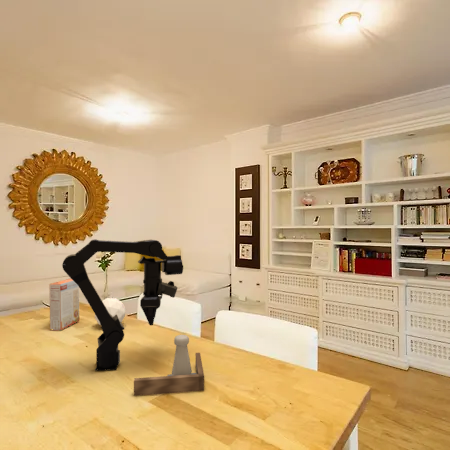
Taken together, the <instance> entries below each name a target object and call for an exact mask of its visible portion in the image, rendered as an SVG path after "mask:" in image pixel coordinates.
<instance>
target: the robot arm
mask: <svg viewBox="0 0 450 450" xmlns="http://www.w3.org/2000/svg"><path fill="white" fill-rule="evenodd" d="M99 252H100V253H125V254H127V253H128V254H137V255H142V256H141V258H140V259H139V260H138V261H137V263H138V264H141V265H142V264H143V280H142V281H143V293H142V295H143V296H142V297H141V299H140V304H139V305H140V308H141V309H142V311H143V313H144V316H145V317H146V320H147V322H148V324H149V326H153V325H154V322H155V318H156V314H157V310H158V309H159V308H160V307H161V303H162V301H161V300H162V299H163V295H166V296H169V297H170V298H175V297H176V294H177V291H178V286H177V285H175V282H174V281H172V280H169V281H168V282H163V278H162V273H164V274H165V276H174V275H182V274H183V272H184V264H183V260H182V255H169V256H168V255H167V254H166V253H165V251H164V250H163V245H162V243H161V242H160V241H159V240H155V239H146V240H145V239H144V240H143V239H142V240H137V241H124V240H123V241H121V240H104V239H103V240H99V239H91V240H89V242H88V243H87V244H86V245H85V246H83V247H82V248H81V249H80V250H78V251H77V252H76V253H75V254H69V255H67V256H66V257H65V258H64V259H63V262H62V264H61V266H62V270H63V271H64V273H66V275H67V276H68V277H69V279H72V280H73V281H74V282H75V283H76V284H77V285H78V286H79V291H81V292H82V295H83V297H84V298H85V300H86V302H87V303H88V304H89V307H90V308H91V309H92V310H91V311H92V312H93V313H94V316H95V315H96V316H97V318H98V320H99V321H100V324H101V325H100V327H101V330H102V333H101V334H100V335H99V336H98V337H97V344H98V347H97V348H96V352H95V353H96V356H95V357H96V360H95V361H96V365H95V366H96V367H95V368H94V371H95V372H99V371H114V370H117V368H118V366H119V365H120V363H121V350H120V349H119V344H121V342H123V340H124V338H125V332H124V331H125V327H124V325H123V323H122V322H120V321H119V319H118V316H117V315H115V316H114V317H113V316H112V315H111V314H110V313H109V312H108V310H107V308H106V307H105V305H104V303H103V302H102V301H103V299H102V298H101V296H100V294H99V293H98V292H97V289H96V288H95V286H94V285H93V283H92V281H91V279H90V277H89V275H88V272H87V270H86V265H85V263H87V262H88V261H89V260H90V259H91V258H92V257H93V256H94V255H95V254H96V253H99ZM146 257H148V258H146ZM155 257H156V258H157V259H159V260H156V259H155Z"/></svg>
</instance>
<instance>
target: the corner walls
mask: <svg viewBox="0 0 450 450" xmlns="http://www.w3.org/2000/svg"><path fill="white" fill-rule="evenodd" d="M195 373H196V374H191V375H176V376H167V375H166V376H165V375H163V376H162V375H161V376H149V377H136V378H134V379H133V396H134V397H135V396H136V397H137V396H149V395H150V396H151V395H162V394H163V395H164V394H173V393H174V394H176V393H188V392H189V393H190V392H201V391H202V392H203V391H205V373H204V367H203V360H202V356H201V352H195Z"/></svg>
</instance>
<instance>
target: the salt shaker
mask: <svg viewBox="0 0 450 450" xmlns="http://www.w3.org/2000/svg"><path fill="white" fill-rule="evenodd" d="M189 342H190V338H189V336H188V335H186V334H178V335H176V336H175V337H174V340H173V343H174V345H175V354H174V359H173V365H172V370H171V374H172V376H176V375H191V373H193V371H192V365H191V359H190V354H189V353H190V352H189V348H188V344H189Z"/></svg>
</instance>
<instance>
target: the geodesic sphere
mask: <svg viewBox="0 0 450 450" xmlns="http://www.w3.org/2000/svg"><path fill="white" fill-rule="evenodd" d="M102 302H103V303H104V305H105V307H106V308H107V310H108V312H109V313H110V314H111V315H112V316H113V317H114V316H115V315H117V316H118V319H119V321H120V322H121V323H122V322H123V321H124V319H125V317H126V310H127V309H126V307H125V304H124V303H123V302H122V301H121V300H120V299H118V298H116V297H115V298H114V297H113V296H112V297H105V298H104V299H102ZM94 319H95V320H96V322H97V324H98V325H99V326H101V324H100V321H99V320H98V318H97V316H96V315H95V314H94Z"/></svg>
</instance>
